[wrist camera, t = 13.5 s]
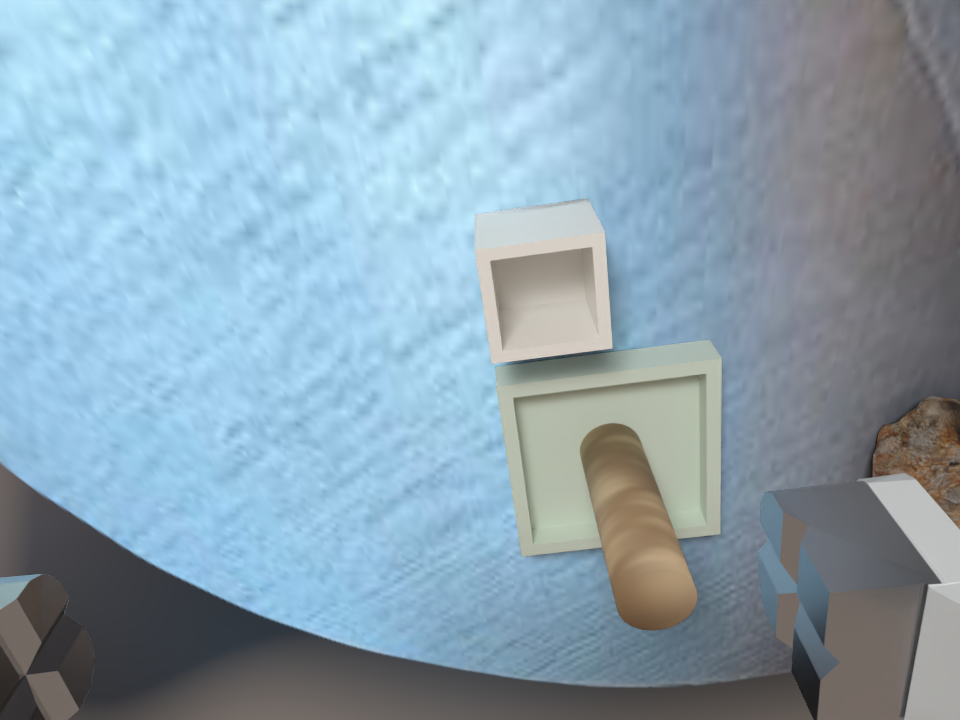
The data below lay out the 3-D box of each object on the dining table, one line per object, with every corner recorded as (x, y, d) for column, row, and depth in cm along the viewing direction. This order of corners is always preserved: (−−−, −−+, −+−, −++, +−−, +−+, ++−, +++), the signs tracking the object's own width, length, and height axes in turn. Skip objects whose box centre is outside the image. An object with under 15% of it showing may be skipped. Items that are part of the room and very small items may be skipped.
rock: (876, 385, 44) (840, 539, 47) (964, 422, 39) (917, 594, 41) (991, 382, 46) (950, 528, 49) (1089, 417, 41) (1036, 579, 44)
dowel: (639, 419, 44) (696, 565, 33) (642, 470, 45) (697, 625, 34) (577, 427, 44) (613, 575, 33) (582, 478, 45) (618, 634, 35)
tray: (709, 339, 42) (721, 358, 40) (709, 509, 48) (720, 534, 46) (495, 366, 43) (496, 387, 41) (519, 531, 48) (521, 556, 46)
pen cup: (588, 198, 38) (604, 232, 33) (595, 302, 41) (612, 348, 36) (474, 213, 39) (474, 249, 34) (489, 316, 41) (491, 363, 36)
